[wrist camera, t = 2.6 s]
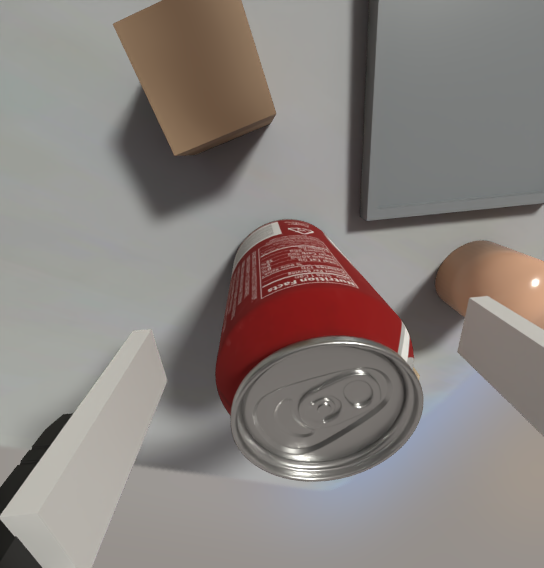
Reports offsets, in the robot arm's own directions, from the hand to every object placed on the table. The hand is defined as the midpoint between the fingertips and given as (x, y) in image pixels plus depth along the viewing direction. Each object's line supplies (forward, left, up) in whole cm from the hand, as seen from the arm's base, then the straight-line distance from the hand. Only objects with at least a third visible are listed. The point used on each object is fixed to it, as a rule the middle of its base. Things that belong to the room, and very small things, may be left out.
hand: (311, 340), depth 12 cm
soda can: (0, 0, -8) cm, 8 cm away
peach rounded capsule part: (+13, -2, -8) cm, 15 cm away
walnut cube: (-3, +10, -8) cm, 13 cm away
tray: (+11, +9, -8) cm, 16 cm away
